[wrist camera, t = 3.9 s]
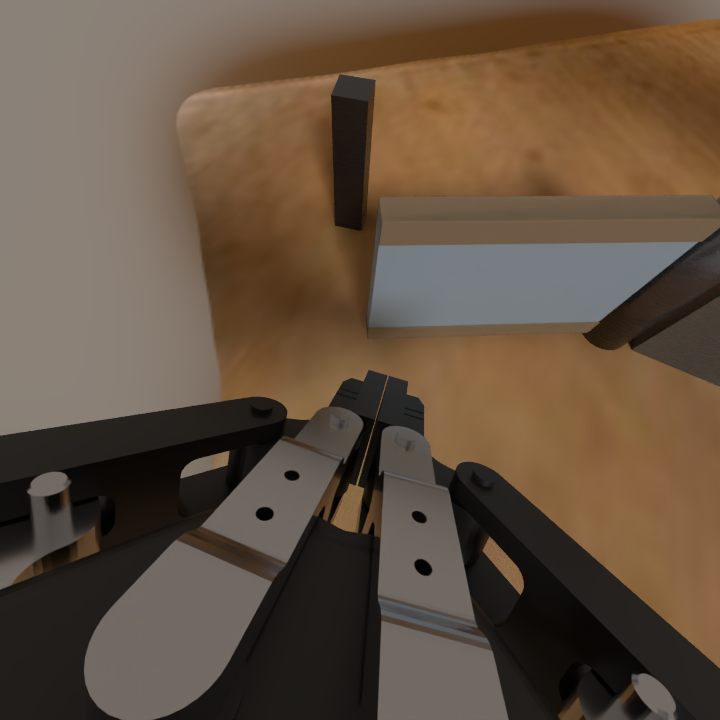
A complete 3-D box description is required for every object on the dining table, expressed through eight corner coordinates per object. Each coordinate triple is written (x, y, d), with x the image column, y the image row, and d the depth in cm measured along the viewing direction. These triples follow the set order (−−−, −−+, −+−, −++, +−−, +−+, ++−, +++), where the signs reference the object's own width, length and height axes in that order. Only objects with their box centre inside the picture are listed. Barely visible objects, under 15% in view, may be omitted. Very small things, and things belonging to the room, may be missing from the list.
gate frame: (730, 365, 23) (1074, 224, 12) (726, 404, 22) (1103, 286, 11) (345, 201, 28) (346, -5, 17) (325, 226, 27) (313, 22, 16)
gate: (580, 314, 23) (712, 195, 15) (587, 332, 23) (729, 220, 14) (366, 319, 22) (379, 196, 14) (367, 338, 22) (382, 223, 13)
